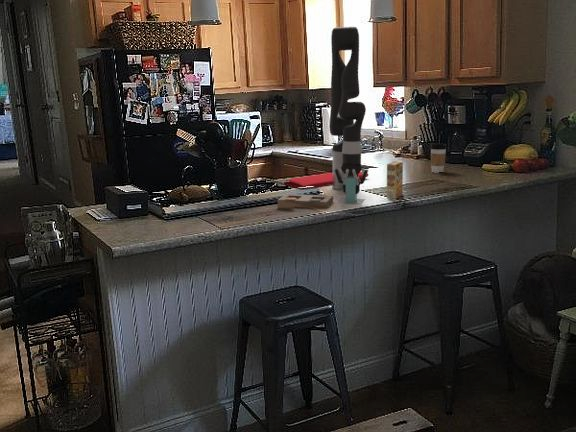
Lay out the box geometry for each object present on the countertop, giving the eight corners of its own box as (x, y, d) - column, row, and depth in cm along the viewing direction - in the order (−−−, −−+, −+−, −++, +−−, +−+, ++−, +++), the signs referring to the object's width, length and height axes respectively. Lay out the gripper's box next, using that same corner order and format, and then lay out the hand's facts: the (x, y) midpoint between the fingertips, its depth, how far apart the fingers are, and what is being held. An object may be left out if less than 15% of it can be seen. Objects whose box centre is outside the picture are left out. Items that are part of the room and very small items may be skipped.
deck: (341, 200, 268) (341, 198, 268) (365, 201, 265) (365, 199, 265) (336, 205, 259) (336, 203, 258) (361, 206, 256) (361, 204, 256)
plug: (347, 199, 264) (347, 174, 262) (356, 200, 263) (357, 174, 261) (345, 201, 260) (345, 175, 258) (355, 202, 259) (355, 176, 257)
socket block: (286, 201, 267) (286, 192, 266) (332, 204, 261) (333, 195, 260) (277, 208, 255) (277, 198, 254) (326, 210, 250) (326, 201, 249)
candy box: (395, 200, 266) (396, 164, 262) (385, 200, 268) (386, 163, 264) (402, 197, 273) (403, 161, 270) (393, 196, 276) (394, 160, 272)
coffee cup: (426, 171, 335) (427, 142, 331) (440, 170, 337) (441, 142, 334) (434, 173, 327) (435, 144, 324) (448, 172, 330) (450, 144, 326)
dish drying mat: (283, 185, 305) (283, 177, 304) (348, 175, 328) (348, 168, 327) (302, 190, 292) (302, 182, 292) (369, 180, 315) (369, 172, 314)
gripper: (370, 151, 259) (369, 192, 263) (336, 150, 262) (336, 191, 266) (367, 153, 252) (367, 196, 256) (332, 152, 255) (332, 194, 259)
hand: (351, 193), depth 261 cm, fingers closed on plug, 4 cm apart
